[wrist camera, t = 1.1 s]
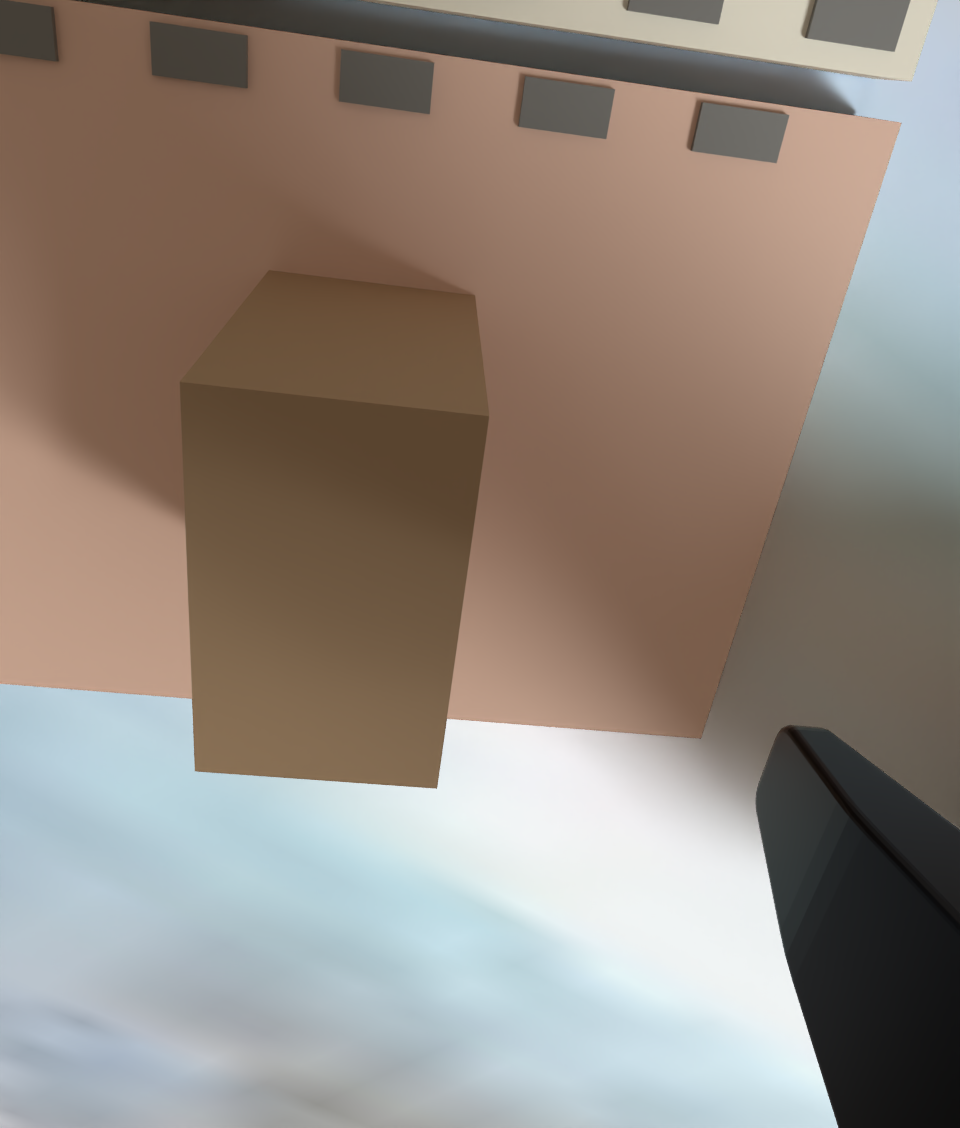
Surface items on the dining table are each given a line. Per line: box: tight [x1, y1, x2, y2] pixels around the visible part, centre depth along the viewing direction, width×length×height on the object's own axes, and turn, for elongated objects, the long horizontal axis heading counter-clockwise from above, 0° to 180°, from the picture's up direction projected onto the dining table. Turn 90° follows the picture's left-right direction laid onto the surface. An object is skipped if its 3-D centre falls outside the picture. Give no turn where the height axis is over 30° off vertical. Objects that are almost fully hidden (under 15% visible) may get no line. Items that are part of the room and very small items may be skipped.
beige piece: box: [0, 0, 901, 788], centre depth 13 cm, size 14×11×6 cm
